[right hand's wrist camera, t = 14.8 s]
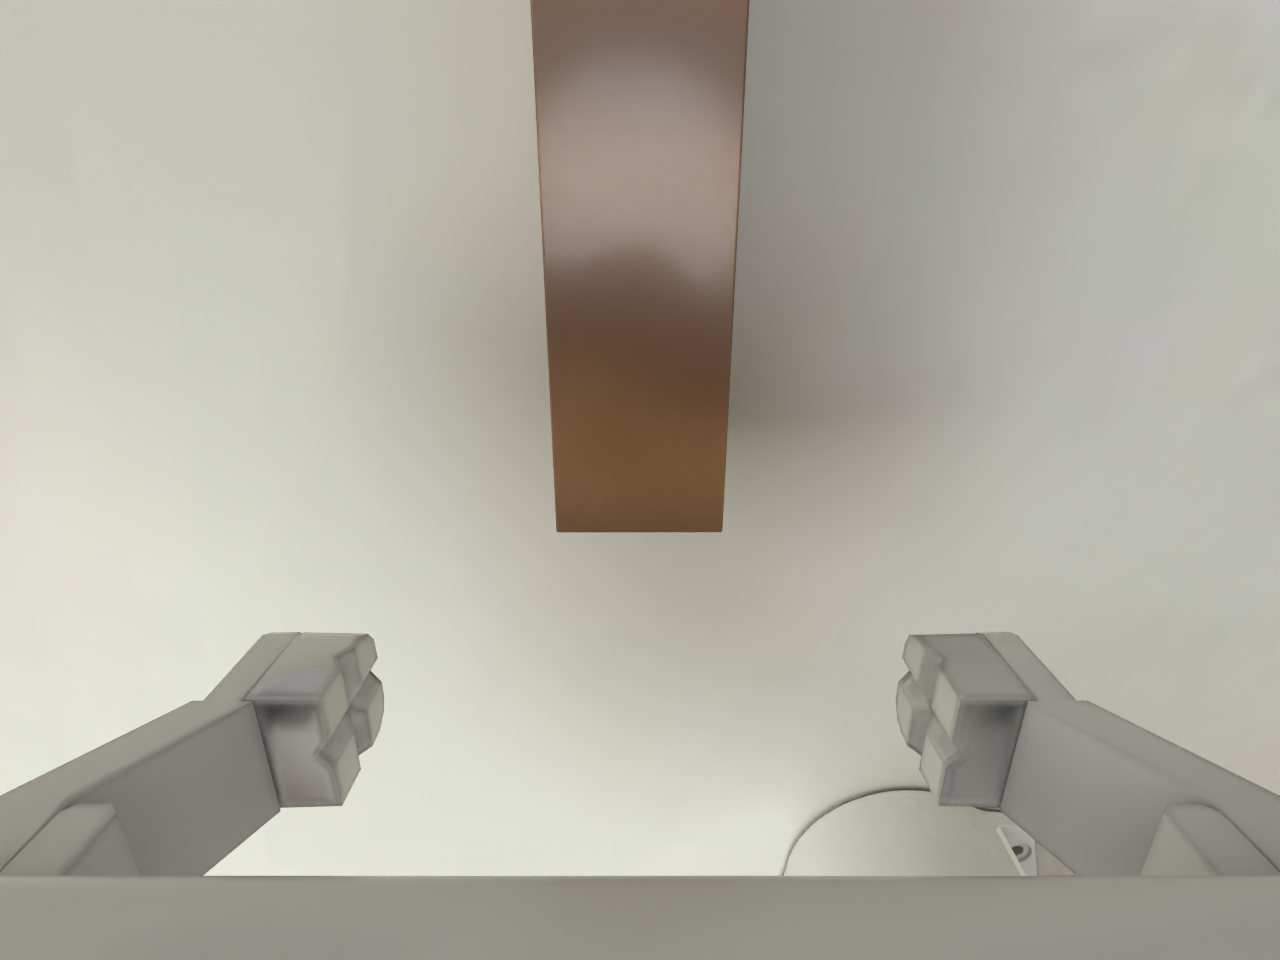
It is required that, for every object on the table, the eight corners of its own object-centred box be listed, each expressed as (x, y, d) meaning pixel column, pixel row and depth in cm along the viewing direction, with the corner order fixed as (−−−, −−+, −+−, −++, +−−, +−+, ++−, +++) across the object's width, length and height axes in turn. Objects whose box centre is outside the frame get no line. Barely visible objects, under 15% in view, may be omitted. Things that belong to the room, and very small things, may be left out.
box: (694, 429, 35) (722, 532, 24) (582, 429, 35) (556, 532, 24) (718, -275, 25) (783, -671, 14) (560, -275, 25) (497, -673, 14)
